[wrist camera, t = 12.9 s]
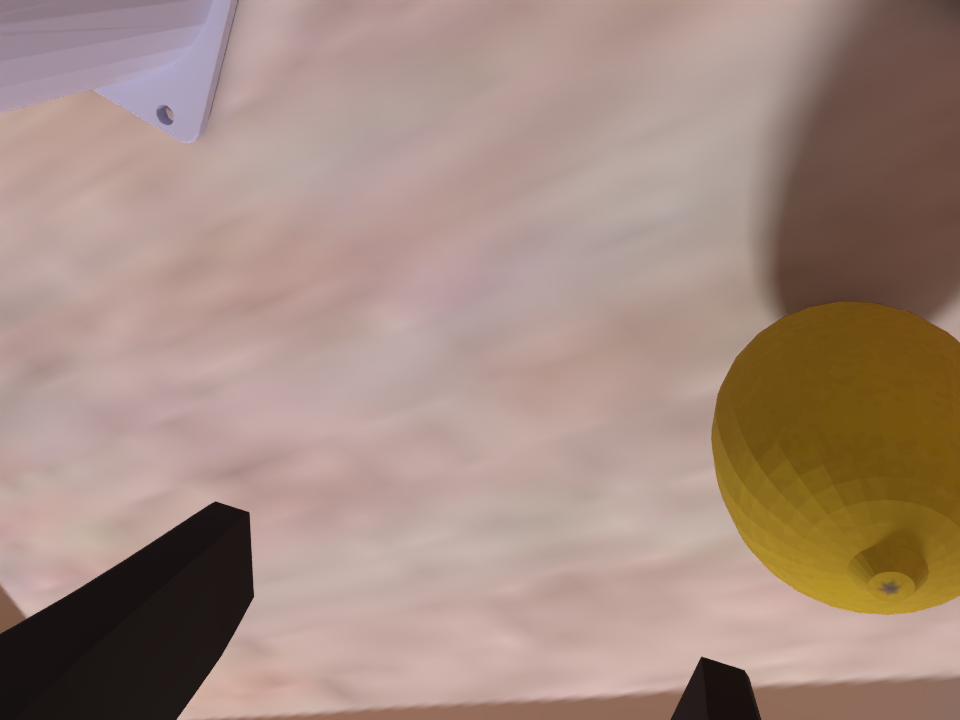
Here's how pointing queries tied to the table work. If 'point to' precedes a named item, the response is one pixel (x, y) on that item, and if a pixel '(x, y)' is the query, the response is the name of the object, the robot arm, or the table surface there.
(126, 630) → the robot arm
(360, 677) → the table surface
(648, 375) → the table surface
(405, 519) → the table surface
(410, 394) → the table surface
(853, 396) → the lemon
